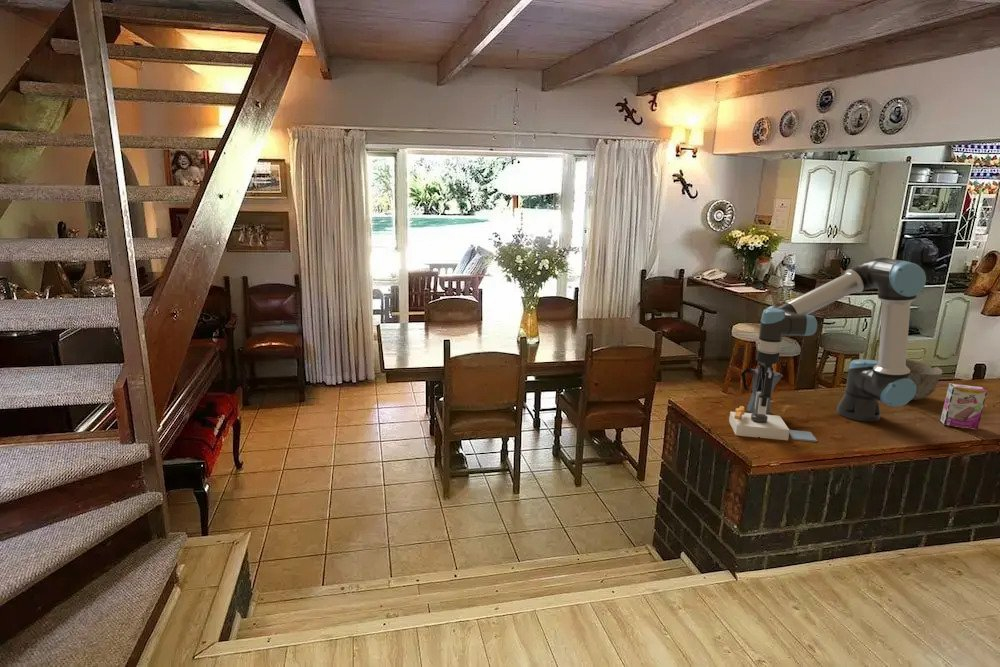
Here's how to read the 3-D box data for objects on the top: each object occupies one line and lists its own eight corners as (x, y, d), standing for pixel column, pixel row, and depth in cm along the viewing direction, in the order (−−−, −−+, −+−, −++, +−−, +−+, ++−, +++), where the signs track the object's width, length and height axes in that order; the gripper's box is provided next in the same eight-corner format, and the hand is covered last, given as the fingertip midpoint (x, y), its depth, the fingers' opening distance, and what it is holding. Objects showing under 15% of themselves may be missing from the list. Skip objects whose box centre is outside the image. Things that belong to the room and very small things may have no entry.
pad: (810, 433, 221) (810, 431, 221) (816, 442, 213) (817, 440, 213) (787, 431, 222) (787, 429, 222) (793, 439, 215) (793, 438, 215)
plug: (763, 428, 225) (768, 390, 221) (767, 434, 219) (772, 395, 216) (748, 426, 226) (753, 389, 222) (751, 432, 220) (756, 394, 217)
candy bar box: (944, 426, 230) (952, 386, 226) (939, 422, 235) (948, 382, 231) (978, 431, 227) (988, 390, 223) (973, 426, 231) (982, 386, 227)
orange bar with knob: (737, 408, 227) (738, 404, 227) (746, 410, 226) (746, 406, 225) (731, 418, 217) (732, 414, 217) (741, 420, 216) (741, 416, 215)
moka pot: (780, 418, 235) (787, 370, 230) (739, 414, 238) (745, 367, 233) (774, 409, 244) (781, 363, 239) (735, 406, 247) (740, 360, 242)
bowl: (937, 410, 247) (944, 376, 243) (875, 400, 258) (882, 367, 255) (934, 396, 265) (941, 364, 261) (877, 386, 276) (882, 355, 272)
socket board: (778, 425, 228) (780, 411, 226) (788, 440, 214) (790, 425, 213) (729, 421, 231) (730, 406, 230) (735, 435, 218) (737, 420, 216)
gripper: (752, 344, 224) (744, 402, 230) (762, 357, 207) (754, 419, 213) (773, 345, 223) (765, 404, 228) (785, 358, 206) (776, 421, 212)
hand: (760, 411), depth 221 cm, fingers open, 4 cm apart
